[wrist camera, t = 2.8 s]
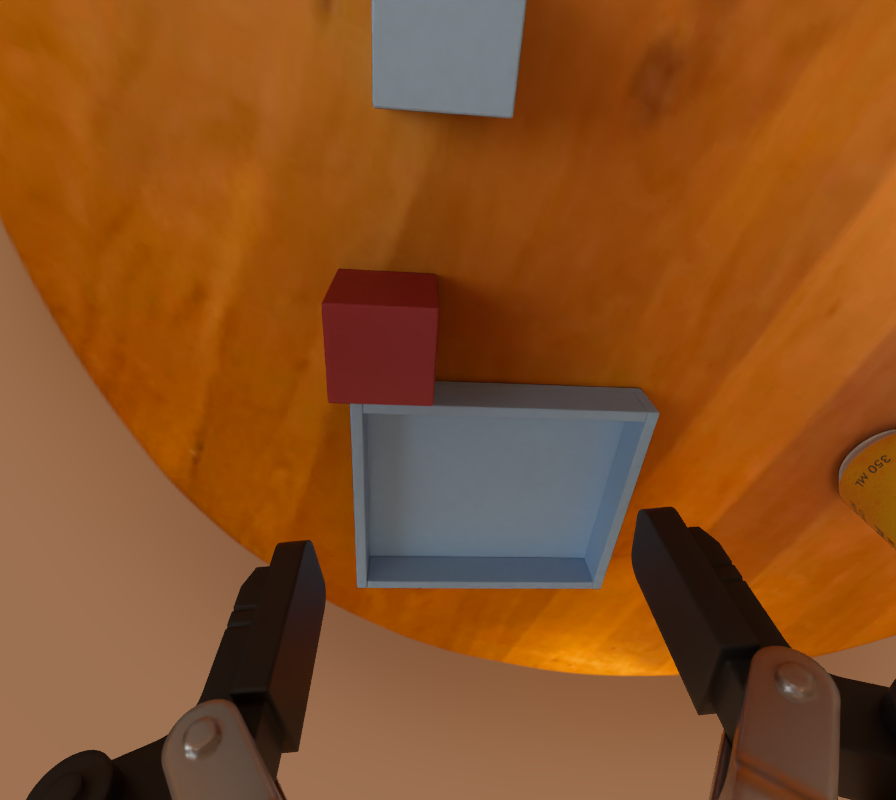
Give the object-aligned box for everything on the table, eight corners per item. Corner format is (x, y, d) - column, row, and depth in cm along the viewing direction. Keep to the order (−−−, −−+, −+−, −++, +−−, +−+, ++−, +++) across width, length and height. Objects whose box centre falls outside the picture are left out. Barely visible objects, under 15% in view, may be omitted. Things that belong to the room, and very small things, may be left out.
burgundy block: (341, 356, 25) (327, 403, 21) (337, 268, 23) (320, 302, 19) (431, 360, 25) (433, 407, 22) (436, 273, 23) (439, 307, 19)
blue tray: (361, 556, 32) (357, 588, 30) (355, 377, 26) (349, 402, 24) (589, 558, 34) (600, 589, 31) (641, 387, 27) (660, 412, 25)
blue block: (381, 106, 20) (372, 107, 16) (381, -45, 17) (370, -87, 13) (495, 115, 20) (513, 118, 16) (509, -32, 18) (535, -69, 14)
